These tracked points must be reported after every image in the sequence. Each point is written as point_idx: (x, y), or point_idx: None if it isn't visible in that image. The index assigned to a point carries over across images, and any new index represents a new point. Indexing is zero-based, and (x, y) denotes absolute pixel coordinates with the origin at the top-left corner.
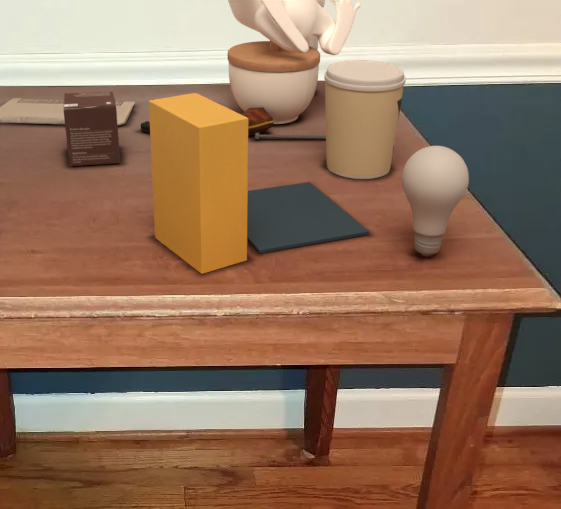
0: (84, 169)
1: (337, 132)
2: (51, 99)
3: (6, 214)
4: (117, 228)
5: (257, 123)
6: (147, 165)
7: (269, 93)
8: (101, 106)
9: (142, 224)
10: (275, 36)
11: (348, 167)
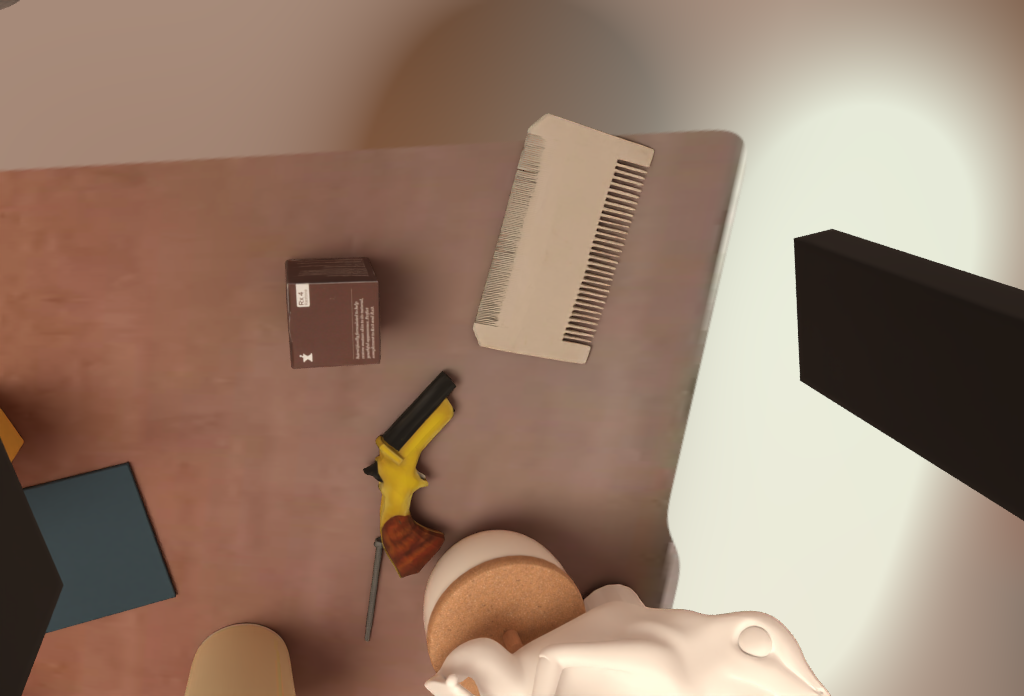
0: (275, 282)
1: (205, 673)
2: (629, 221)
3: (85, 168)
4: (22, 332)
5: (388, 553)
6: (283, 377)
7: (426, 593)
8: (292, 346)
9: (36, 367)
10: (447, 661)
11: (197, 655)
